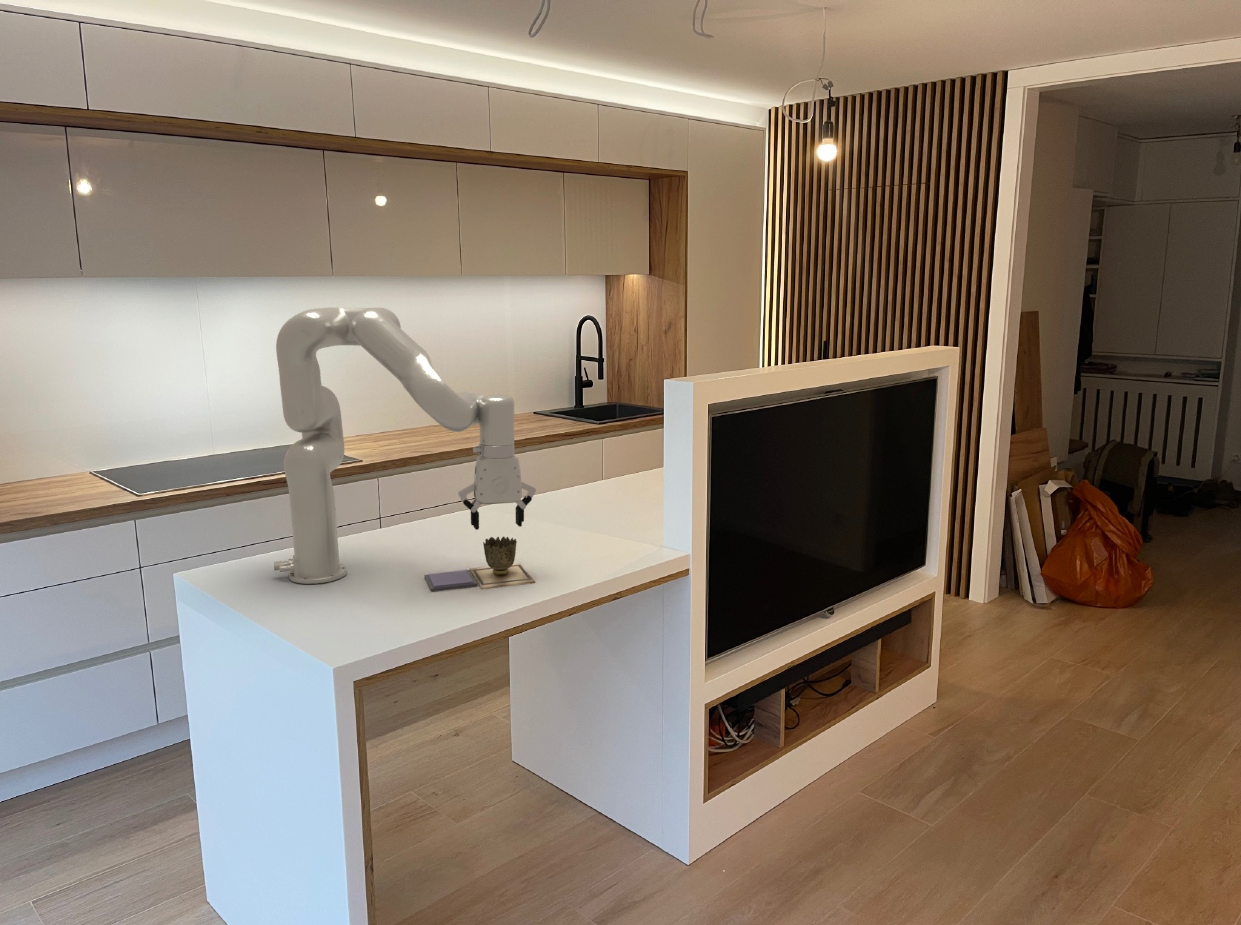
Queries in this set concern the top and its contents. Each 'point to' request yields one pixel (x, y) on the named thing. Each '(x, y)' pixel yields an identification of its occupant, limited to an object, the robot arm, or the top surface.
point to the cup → (500, 554)
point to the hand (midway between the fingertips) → (497, 526)
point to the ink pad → (450, 580)
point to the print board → (501, 577)
